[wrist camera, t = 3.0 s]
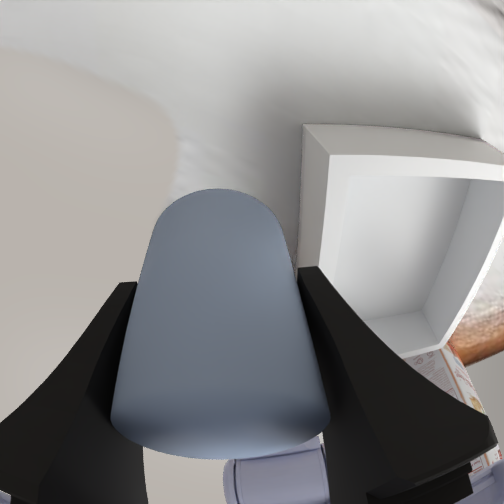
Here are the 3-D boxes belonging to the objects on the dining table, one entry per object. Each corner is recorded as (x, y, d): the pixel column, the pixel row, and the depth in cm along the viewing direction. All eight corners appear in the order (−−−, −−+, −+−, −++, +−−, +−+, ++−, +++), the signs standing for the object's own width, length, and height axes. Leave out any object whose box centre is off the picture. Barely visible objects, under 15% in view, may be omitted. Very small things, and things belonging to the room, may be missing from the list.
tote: (422, 309, 28) (442, 347, 24) (290, 330, 27) (300, 377, 23) (481, 139, 17) (527, 169, 13) (302, 124, 16) (329, 154, 12)
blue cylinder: (283, 289, 13) (316, 449, 8) (168, 300, 13) (153, 458, 8) (283, 182, 10) (350, 371, 5) (137, 198, 10) (68, 385, 5)
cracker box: (457, 346, 35) (508, 471, 19) (423, 370, 37) (467, 494, 21) (427, 313, 28) (500, 490, 12) (383, 345, 31) (439, 518, 15)
